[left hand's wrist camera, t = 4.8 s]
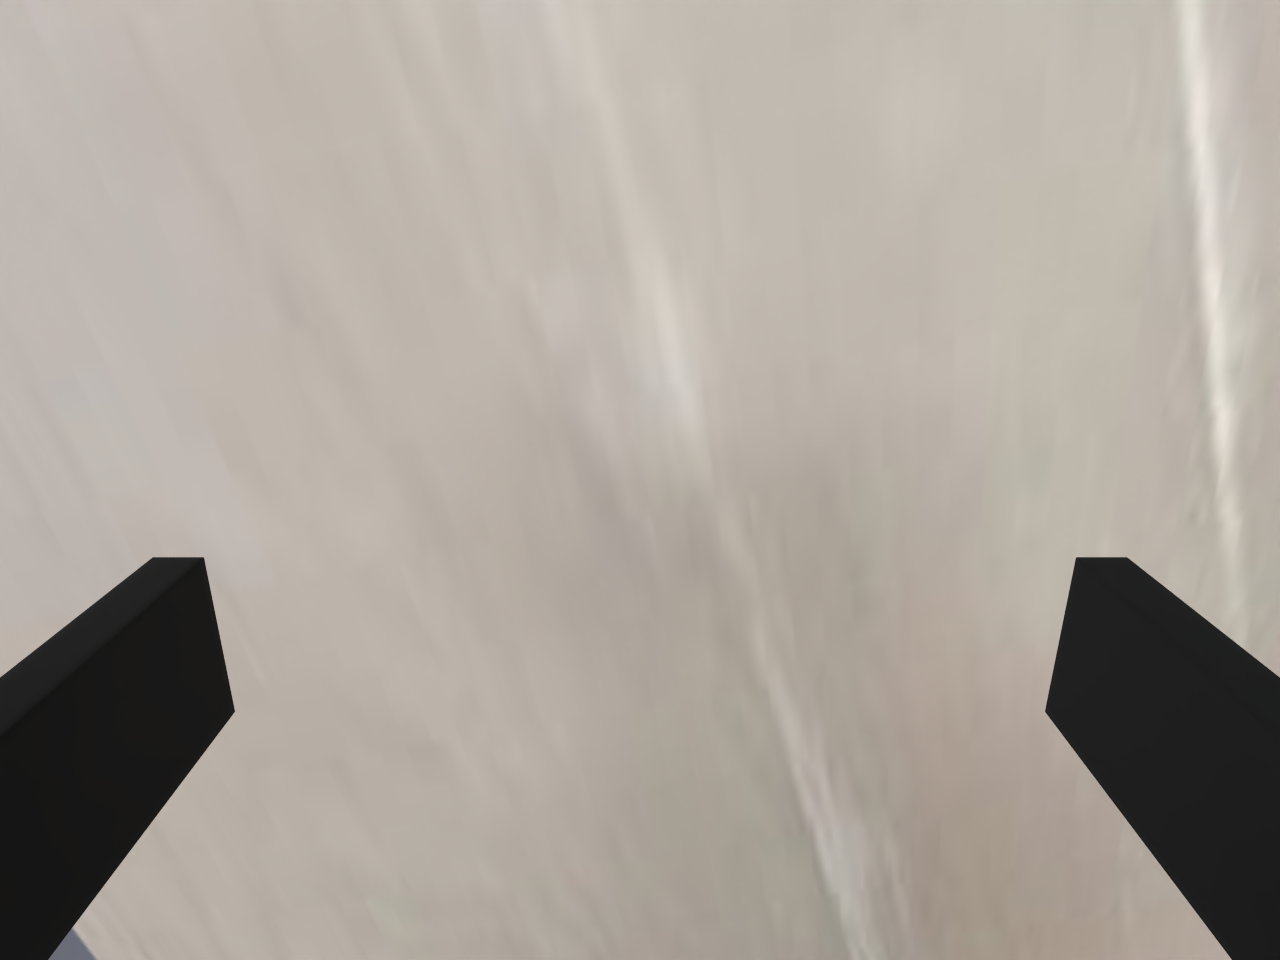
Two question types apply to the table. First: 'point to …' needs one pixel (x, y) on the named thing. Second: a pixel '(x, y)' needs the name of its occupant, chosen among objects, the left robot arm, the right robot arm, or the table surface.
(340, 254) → the table surface
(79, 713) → the left robot arm
